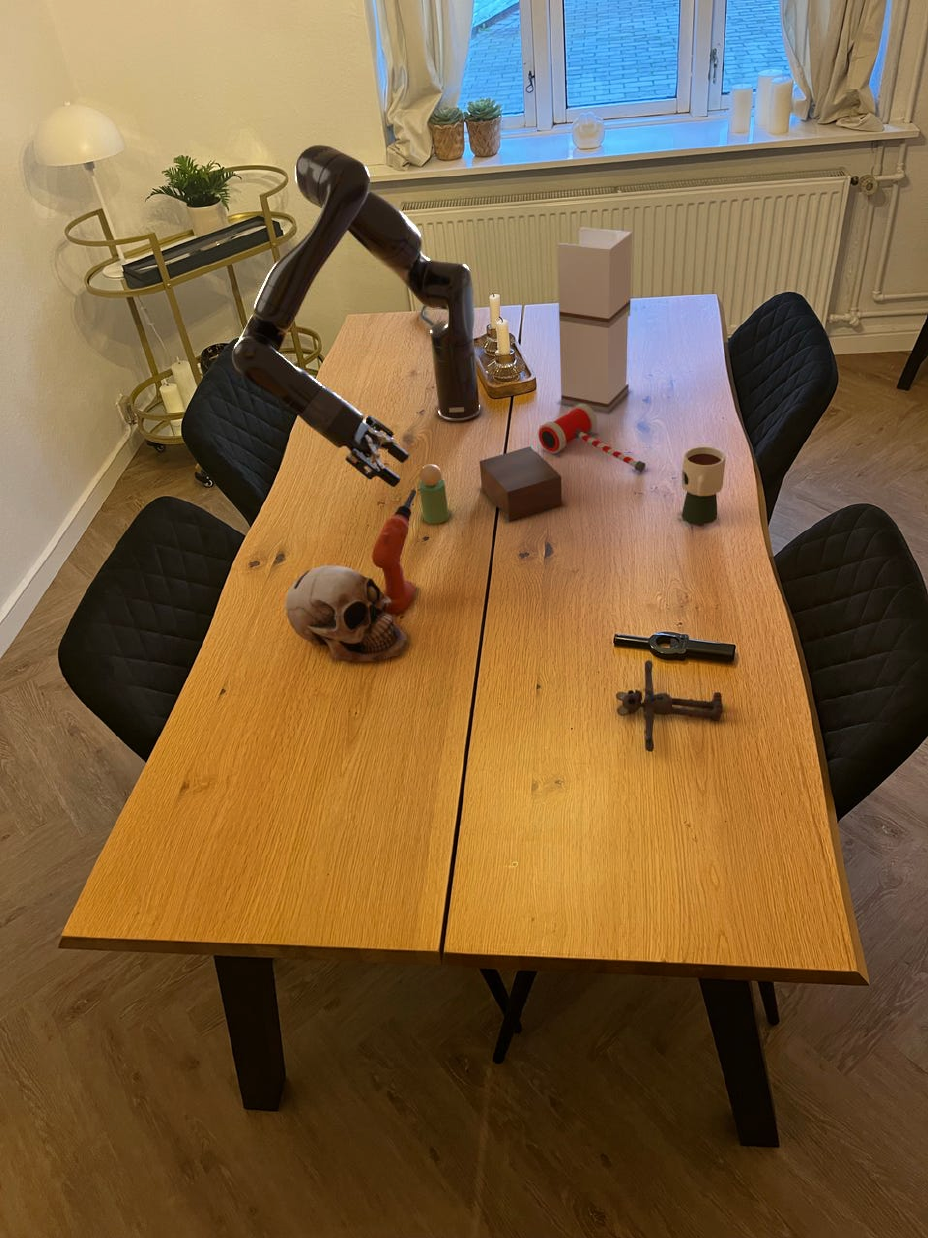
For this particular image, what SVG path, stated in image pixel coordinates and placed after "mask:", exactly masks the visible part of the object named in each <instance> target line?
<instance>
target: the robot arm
mask: <svg viewBox="0 0 928 1238" xmlns="http://www.w3.org/2000/svg"><path fill="white" fill-rule="evenodd" d="M294 169H295V170H294V171H295V172H294V175H295V182H296V185H297V188H298V190H299V192H300V194H301V195H302V196H303V198H305V199H306V200H307V201H308V202H310V203H311V204H313V205H314V206H317V207H318V208H320V209H321V211H320V213H319V215H318V217H317V220H316V221H315V223H314V225H313V226H312V228H311V229H310V230H309V232H308V233H307V234H306V235H305V236H304V237H303V238H302V240H300V241H299V242H298V243H297V244H296V245H294V246H293V247H292V248H291V249H290V250H288V251H287V252H285V254H284V255H282V257H280V258H279V259H278V260H277V261H276V262H275V264H274V265H273V266H272V267H271V269H270V271H269V273H268V274H267V276H266V278H265V281H264V283H263V284H262V287H261V289H260V291H259V292H258V293H259V294H258V296H257V298H256V300H255V303H254V306H253V310H252V314H251V316H250V318H249V319H248V322H247V323H246V326H245V328H244V330H243V332H242V334H241V335H240V337H239V339H238V341H237V342H236V344H235V345H234V346H233V348H232V351H231V359H232V360H231V361H232V364H233V367H234V368H235V370H236V371H237V372H238V374H240V375H241V376H242V377H243V378H245V379H246V380H248V381H249V382H250V383H252V384H253V385H255V386H256V387H258V388H259V389H261V390H262V391H264V392H266V393H267V394H269V395H271V396H272V397H274V398H275V399H277V400H278V401H279V402H280V403H282V405H284V407H286V408H288V409H289V410H290V411H292V412H293V413H294V414H295V415H297V417H299V418H300V419H302V421H304V423H305V424H307V426H309V427H310V428H311V429H312V430H314V431H315V432H317V433H318V434H319V435H321V436H322V437H323V438H325V439H326V440H327V441H328V442H329V443H331V444H332V445H334V446H335V447H336V448H338V449H341V448H343V447H346V448H347V449H348V450H349V451H350V452H349V453H348V454H347V455H346V456H345V458H344V459H345V461H346V462H347V463H348V464H349V465H350V466H352V467H353V468H354V469H355V470H357V471H358V472H359V473H360V474H362V475H363V476H364V477H365V478H367V479H368V480H369V481H371V480H373V479H374V478H376V477H378V478H379V479H381V480H382V481H383V482H385V483H386V484H387V485H389V486H390V487H392V488H395V487H396V486H397V485H398V484H399V483H400V482H401V477H400V476H399V475H398V474H396V473H395V472H393V470H391V468H388V467H387V466H386V465H384V463H383V462H382V459H381V454H380V452H379V449H380V450H383V451H386V453H388V454H389V455H390V456H392V458H394V459H395V460H397V461H398V462H399V463H401V464H404V463H405V462H406V461H407V460H408V459H409V457H410V453H408V452H407V451H406V450H405V449H404V448H403V447H401V446H400V445H399V444H397V443H396V440H395V438H393V436H394V435H395V433H394V431H392V430H391V429H390V428H388V427H387V426H386V425H385V424H383V423H382V422H380V421H379V420H378V419H376V418H375V417H374V416H373V415H371V414H368V415H367V416H366V417H364V414H363V413H362V412H361V411H360V410H358V409H357V408H356V407H354V406H353V405H352V404H351V403H349V402H348V401H347V400H346V399H344V398H343V397H342V396H340V395H339V394H338V393H337V392H335V391H334V390H332V389H330V388H329V387H328V386H326V385H324V384H322V383H321V382H320V381H319V380H317V379H316V378H315V377H314V376H313V375H311V374H310V373H308V372H307V371H306V370H304V369H303V368H301V367H299V366H296V365H294V364H293V363H292V362H291V361H289V360H288V359H287V358H285V357H284V356H283V355H282V354H281V353H280V350H281V349H282V345H283V343H284V341H285V338H286V336H287V333H288V331H289V330H290V328H291V327H292V325H293V323H294V322H295V321H296V317H297V316H298V314H299V312H300V310H301V308H302V306H303V303H304V302H305V299H306V297H307V295H308V293H309V291H310V289H311V288H312V285H313V283H314V282H315V280H316V277H317V276H318V275H319V273H320V271H321V270H322V268H323V267H324V265H325V264H326V263H327V262H328V259H329V258H330V257H331V255H332V254H333V253H334V252H335V249H336V248H337V247H338V246H339V244H340V242H341V241H342V239H343V238H344V236H345V235H346V234H347V232H349V234H350V235H351V236H352V237H353V238H355V240H356V241H357V242H358V243H359V244H360V245H361V246H363V248H364V249H366V251H367V252H369V254H370V255H372V256H373V258H375V259H376V260H377V261H379V263H381V264H382V265H383V266H384V267H386V268H387V269H388V270H389V271H391V272H392V273H393V275H395V276H396V277H397V278H398V279H399V280H401V281H402V282H403V283H404V285H405V286H406V288H408V289H409V291H410V292H411V293H412V294H413V295H414V297H415V298H416V299H417V300H418V301H419V302H420V303H421V304H422V305H423V307H422V308H421V310H420V317H421V319H422V320H423V321H425V323H428V325H430V329H429V339H430V346H431V354H432V355H431V356H432V364H433V372H434V381H435V388H436V389H435V390H436V397H437V406H438V416H439V417H440V418H441V419H442V420H444V421H447V422H453V423H454V422H455V423H458V422H465V421H469V420H472V419H474V418H476V417H477V416H478V415H479V414H480V413H481V405H480V395H479V383H478V373H477V362H476V360H477V359H476V352H475V351H476V350H475V340H474V339H475V337H474V328H475V327H474V326H475V304H474V303H475V302H474V299H475V298H474V281H473V275H472V271H471V270H470V269H469V266H467V265H466V264H465V263H458V262H449V261H441V260H440V261H439V260H433V259H430V258H429V257H427V256H426V255H424V254H423V237H422V235H421V233H420V230H419V229H418V227H417V226H416V225H415V223H414V222H412V221H411V220H410V219H409V217H407V216H406V215H405V213H404V212H403V211H401V210H400V209H399V208H397V207H396V206H394V205H393V204H392V203H390V202H389V201H388V200H387V199H385V198H383V197H381V196H380V195H378V193H376V192H373V191H372V190H371V189H370V188H371V176H370V173H369V170H368V168H367V167H366V165H365V164H364V163H363V162H361V161H360V160H358V159H356V158H354V157H352V156H351V155H348V154H346V153H345V152H342V151H340V150H338V149H336V148H335V147H332V146H329V145H325V144H324V145H323V144H317V145H315V144H314V145H312V146H309V147H307V148H306V149H304V151H302V152H301V154H300V155H299V156H298V158H297V160H296V163H295V168H294ZM427 308H431V309H438V310H444V311H445V310H446V311H448V318H445V319H442V320H440V321H437V322H436V323H435V322H434V321H432V320H431V319H429V318H428V317H426V316H425V312H426V309H427Z"/></svg>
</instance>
